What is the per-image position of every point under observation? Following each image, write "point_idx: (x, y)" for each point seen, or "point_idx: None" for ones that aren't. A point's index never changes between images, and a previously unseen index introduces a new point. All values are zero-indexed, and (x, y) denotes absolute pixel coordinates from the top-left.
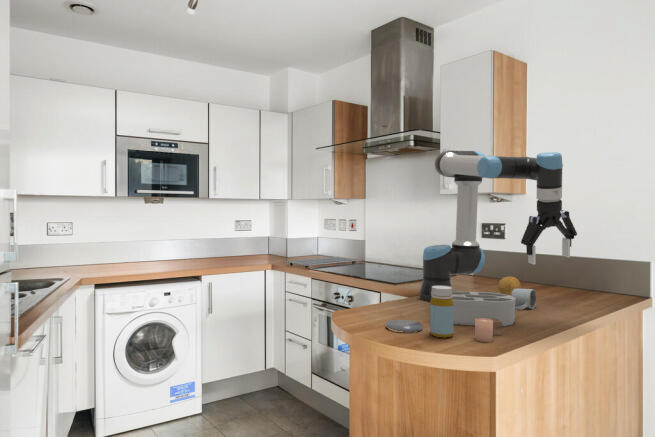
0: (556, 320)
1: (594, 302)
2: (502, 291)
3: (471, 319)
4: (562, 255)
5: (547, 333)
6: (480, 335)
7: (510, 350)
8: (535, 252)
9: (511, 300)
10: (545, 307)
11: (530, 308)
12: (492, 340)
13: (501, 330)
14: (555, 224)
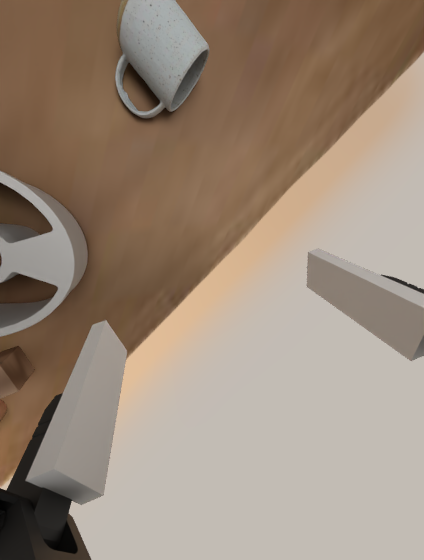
0: (192, 231)
1: (350, 43)
2: None
3: None
4: (308, 254)
5: (138, 332)
6: None
7: None
8: (114, 425)
9: (51, 307)
10: (221, 87)
11: (173, 107)
12: (4, 414)
13: (28, 376)
14: None
